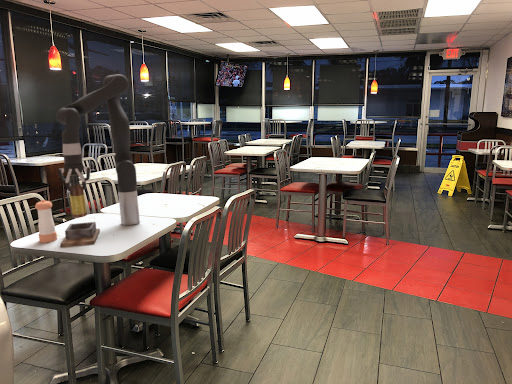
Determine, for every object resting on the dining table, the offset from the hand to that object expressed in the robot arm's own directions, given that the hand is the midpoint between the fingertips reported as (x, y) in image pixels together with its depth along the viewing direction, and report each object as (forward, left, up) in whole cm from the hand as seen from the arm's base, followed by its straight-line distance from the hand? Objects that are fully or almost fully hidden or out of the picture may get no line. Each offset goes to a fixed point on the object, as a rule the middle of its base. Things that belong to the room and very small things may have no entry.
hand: (76, 190), depth 187 cm
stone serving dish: (0, +2, -23) cm, 23 cm away
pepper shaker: (+15, -1, -23) cm, 27 cm away
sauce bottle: (0, 0, -13) cm, 13 cm away
